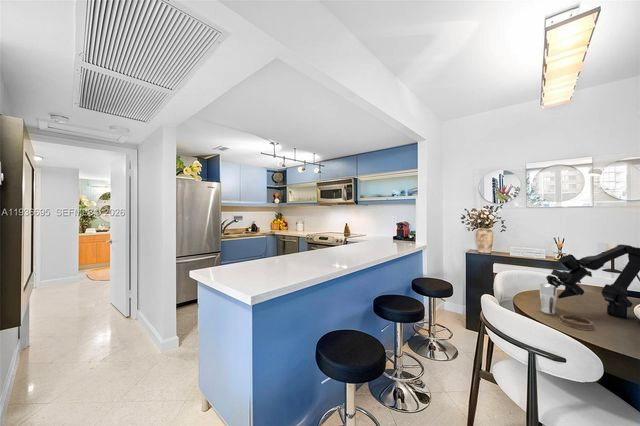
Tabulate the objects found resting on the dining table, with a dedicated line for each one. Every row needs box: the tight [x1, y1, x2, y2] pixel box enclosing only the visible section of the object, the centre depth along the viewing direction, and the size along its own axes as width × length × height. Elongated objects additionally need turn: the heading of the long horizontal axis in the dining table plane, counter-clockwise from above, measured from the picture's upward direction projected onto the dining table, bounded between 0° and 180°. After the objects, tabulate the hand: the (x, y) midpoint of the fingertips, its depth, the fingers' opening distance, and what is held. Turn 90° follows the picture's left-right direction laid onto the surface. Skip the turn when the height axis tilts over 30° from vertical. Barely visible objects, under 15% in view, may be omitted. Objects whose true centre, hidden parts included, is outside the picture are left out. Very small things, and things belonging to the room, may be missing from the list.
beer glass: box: [539, 283, 558, 315], centre depth 136 cm, size 7×7×15 cm
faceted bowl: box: [558, 314, 595, 332], centre depth 122 cm, size 12×12×2 cm
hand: (551, 294), depth 136 cm, fingers open, 9 cm apart
